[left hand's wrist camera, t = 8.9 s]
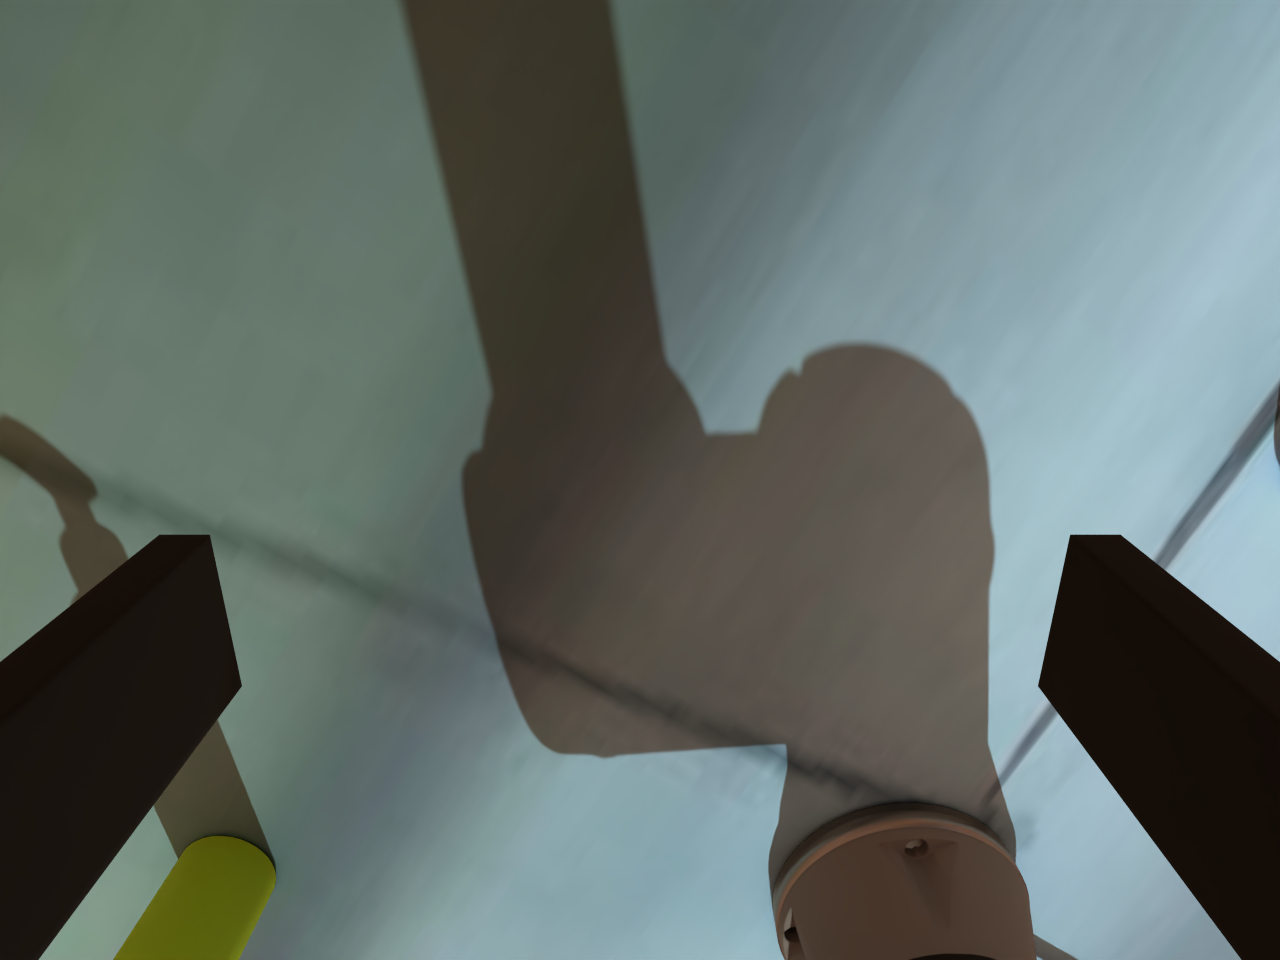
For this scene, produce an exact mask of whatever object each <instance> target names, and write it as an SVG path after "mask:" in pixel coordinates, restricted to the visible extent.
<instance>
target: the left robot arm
mask: <svg viewBox="0 0 1280 960" xmlns="http://www.w3.org/2000/svg"><path fill="white" fill-rule="evenodd" d="M241 687H242V684H241V680H240V675H239V670H238V665H237V661H236V656H235V651H234V647H233V642H232V637H231V633H230V628H229V623H228V618H227V614H226V609H225V604H224V600H223V595H222V590H221V586H220V581H219V576H218V571H217V567H216V562H215V557H214V553H213V548H212V543H211V539H210V535H159V536H157V537H156V538H155V539H154V540H152V541H151V542H150V543H149V544H147V545H146V546H145V547H144V548H142V549H141V550H140V551H139V552H137V553H136V554H135V555H134V556H132V557H131V558H130V559H129V560H127V561H126V562H125V563H124V564H122V565H121V566H120V567H119V568H117V569H116V570H115V571H114V572H112V573H111V574H110V575H109V576H107V577H106V578H105V579H104V580H102V581H101V582H100V583H99V584H97V585H96V586H95V587H94V588H92V589H91V590H90V591H89V592H87V593H86V594H85V595H84V596H82V597H81V598H80V599H79V600H77V601H76V602H75V603H74V604H72V605H71V606H70V607H69V608H67V609H66V610H65V611H64V612H62V613H61V614H60V615H59V616H57V617H56V618H55V619H54V620H52V621H51V622H50V623H49V624H47V625H46V626H45V627H44V628H42V629H41V630H40V631H39V632H37V633H36V634H35V635H34V636H32V637H31V638H30V639H29V640H27V641H26V642H25V643H24V644H22V645H21V646H20V647H18V648H17V649H16V650H15V651H13V652H12V653H11V654H10V655H8V656H7V657H6V658H5V659H3V660H2V661H1V662H0V960H39V958H40V957H41V956H42V954H43V953H44V951H45V950H46V949H47V947H48V946H49V945H50V943H51V942H52V941H53V939H54V938H55V937H56V935H57V934H58V933H59V931H60V930H61V929H62V927H63V926H64V925H65V923H66V922H67V921H68V919H69V918H70V917H71V915H72V914H73V912H74V911H75V910H76V908H77V907H78V906H79V904H80V903H81V902H82V900H83V899H84V898H85V896H86V895H87V894H88V892H89V891H90V890H91V888H92V887H93V886H94V884H95V883H96V882H97V880H98V879H99V878H100V876H101V875H102V873H103V872H104V871H105V869H106V868H107V867H108V865H109V864H110V863H111V861H112V860H113V859H114V857H115V856H116V855H117V853H118V852H119V851H120V849H121V848H122V847H123V845H124V844H125V843H126V841H127V840H128V839H129V837H130V836H131V835H132V833H133V832H134V830H135V829H136V828H137V826H138V825H139V824H140V822H141V821H142V820H143V818H144V817H145V816H146V814H147V813H148V812H149V810H150V809H151V808H152V806H153V805H154V804H155V802H156V801H157V800H158V798H159V797H160V796H161V794H162V793H163V791H164V790H165V789H166V787H167V786H168V785H169V783H170V782H171V781H172V779H173V778H174V777H175V775H176V774H177V773H178V771H179V770H180V769H181V767H182V766H183V765H184V763H185V762H186V761H187V759H188V758H189V757H190V755H191V754H192V752H193V751H194V750H195V748H196V747H197V746H198V744H199V743H200V742H201V740H202V739H203V738H204V736H205V735H206V734H207V732H208V731H209V730H210V728H211V727H212V726H213V724H214V723H215V722H216V720H217V719H218V718H219V716H220V715H221V713H222V712H223V711H224V709H225V708H226V707H227V705H228V704H229V703H230V701H231V700H232V699H233V697H234V696H235V695H236V693H237V692H238V691H239V689H240V688H241ZM1038 687H1039V688H1040V689H1041V691H1042V692H1043V693H1044V695H1045V696H1046V697H1047V699H1048V700H1049V701H1050V703H1051V704H1052V705H1053V707H1054V708H1055V709H1056V711H1057V712H1058V714H1059V715H1060V716H1061V718H1062V719H1063V720H1064V722H1065V723H1066V724H1067V726H1068V727H1069V728H1070V730H1071V731H1072V732H1073V734H1074V735H1075V736H1076V738H1077V739H1078V740H1079V742H1080V743H1081V744H1082V746H1083V747H1084V748H1085V750H1086V751H1087V752H1088V754H1089V755H1090V757H1091V758H1092V759H1093V761H1094V762H1095V763H1096V765H1097V766H1098V767H1099V769H1100V770H1101V771H1102V773H1103V774H1104V775H1105V777H1106V778H1107V779H1108V781H1109V782H1110V783H1111V785H1112V786H1113V787H1114V789H1115V790H1116V791H1117V793H1118V794H1119V796H1120V797H1121V798H1122V800H1123V801H1124V802H1125V804H1126V805H1127V806H1128V808H1129V809H1130V810H1131V812H1132V813H1133V814H1134V816H1135V817H1136V818H1137V820H1138V821H1139V822H1140V824H1141V825H1142V826H1143V828H1144V829H1145V830H1146V832H1147V833H1148V835H1149V836H1150V837H1151V839H1152V840H1153V841H1154V843H1155V844H1156V845H1157V847H1158V848H1159V849H1160V851H1161V852H1162V853H1163V855H1164V856H1165V857H1166V859H1167V860H1168V861H1169V863H1170V864H1171V865H1172V867H1173V868H1174V869H1175V871H1176V872H1177V874H1178V875H1179V876H1180V878H1181V879H1182V880H1183V882H1184V883H1185V884H1186V886H1187V887H1188V888H1189V890H1190V891H1191V892H1192V894H1193V895H1194V896H1195V898H1196V899H1197V900H1198V902H1199V903H1200V904H1201V906H1202V907H1203V908H1204V910H1205V911H1206V913H1207V914H1208V915H1209V917H1210V918H1211V919H1212V921H1213V922H1214V923H1215V925H1216V926H1217V927H1218V929H1219V930H1220V931H1221V933H1222V934H1223V935H1224V937H1225V938H1226V939H1227V941H1228V942H1229V943H1230V945H1231V946H1232V947H1233V949H1234V950H1235V952H1236V953H1237V954H1238V956H1239V957H1240V958H1241V960H1280V662H1279V661H1278V660H1277V659H1275V658H1274V657H1273V656H1271V655H1270V654H1269V653H1268V652H1266V651H1265V650H1264V649H1263V648H1261V647H1260V646H1259V645H1258V644H1256V643H1255V642H1254V641H1253V640H1251V639H1250V638H1249V637H1248V636H1246V635H1245V634H1244V633H1243V632H1241V631H1240V630H1239V629H1238V628H1236V627H1235V626H1234V625H1233V624H1231V623H1230V622H1229V621H1228V620H1226V619H1225V618H1224V617H1223V616H1221V615H1220V614H1219V613H1218V612H1216V611H1215V610H1214V609H1213V608H1211V607H1210V606H1209V605H1208V604H1206V603H1205V602H1204V601H1203V600H1201V599H1200V598H1199V597H1198V596H1196V595H1195V594H1194V593H1193V592H1191V591H1190V590H1189V589H1188V588H1186V587H1185V586H1184V585H1183V584H1181V583H1180V582H1179V581H1178V580H1176V579H1175V578H1174V577H1173V576H1171V575H1170V574H1169V573H1168V572H1166V571H1165V570H1164V569H1163V568H1161V567H1160V566H1159V565H1158V564H1156V563H1155V562H1154V561H1153V560H1151V559H1150V558H1149V557H1148V556H1146V555H1145V554H1144V553H1143V552H1141V551H1140V550H1139V549H1138V548H1136V547H1135V546H1134V545H1133V544H1131V543H1130V542H1129V541H1128V540H1126V539H1125V538H1124V537H1123V536H1121V535H1070V538H1069V543H1068V548H1067V553H1066V557H1065V562H1064V567H1063V571H1062V576H1061V581H1060V585H1059V590H1058V595H1057V600H1056V604H1055V609H1054V614H1053V618H1052V623H1051V628H1050V632H1049V637H1048V642H1047V647H1046V651H1045V656H1044V661H1043V665H1042V670H1041V675H1040V679H1039V684H1038ZM773 914H774V920H775V926H776V932H777V937H778V943H779V946H780V950H781V952H782V955H783V957H784V959H785V960H1037V959H1036V951H1035V943H1034V936H1033V928H1032V920H1031V913H1030V902H1029V895H1028V891H1027V887H1026V884H1025V882H1024V880H1023V877H1022V875H1021V873H1020V871H1019V870H1018V868H1017V866H1016V864H1015V862H1014V860H1013V858H1012V856H1011V854H1010V852H1009V851H1008V849H1007V848H1006V846H1005V844H1004V843H1003V842H1002V841H1001V839H1000V838H999V837H998V836H997V835H996V834H995V833H994V832H993V831H992V830H991V829H989V828H988V827H987V826H985V825H984V824H983V823H981V822H979V821H978V820H976V819H974V818H972V817H970V816H968V815H966V814H964V813H961V812H959V811H956V810H953V809H949V808H946V807H942V806H936V805H931V804H921V803H897V804H887V805H880V806H875V807H870V808H866V809H863V810H859V811H856V812H853V813H850V814H848V815H845V816H843V817H841V818H838V819H836V820H834V821H832V822H830V823H829V824H827V825H825V826H823V827H822V828H820V829H819V830H817V831H816V832H814V833H813V834H812V835H810V836H809V837H808V838H807V839H806V840H804V841H803V842H802V843H801V844H800V845H799V846H798V847H797V848H796V849H795V850H794V852H793V853H792V854H791V855H790V856H789V858H788V859H787V861H786V862H785V864H784V865H783V867H782V869H781V871H780V873H779V875H778V878H777V881H776V884H775V888H774V892H773Z"/></svg>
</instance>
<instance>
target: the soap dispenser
mask: <svg viewBox="0 0 1280 960" xmlns="http://www.w3.org/2000/svg"><path fill="white" fill-rule="evenodd" d="M275 883H276V873H275V869H274V867H273V865H272V863H271V861H270V860H269V858H268V857H267V856H266V855H265V854H264V853H263V852H262V851H261V850H260V849H258V848H257V847H255V846H254V845H252V844H250V843H248V842H246V841H243V840H241V839H237V838H233V837H227V836H211V837H206V838H202V839H200V840H197V841H195V842H193V843H192V844H191V845H189V846H188V847H187V848H186V849H185V850H184V852H183V853H182V855H181V856H180V858H179V859H178V861H177V863H176V864H175V866H174V867H173V869H172V870H171V872H170V873H169V875H168V876H167V878H166V879H165V881H164V883H163V884H162V886H161V887H160V889H159V890H158V892H157V893H156V895H155V896H154V898H153V899H152V901H151V902H150V904H149V906H148V907H147V909H146V910H145V912H144V913H143V915H142V916H141V918H140V919H139V921H138V922H137V924H136V926H135V927H134V929H133V930H132V932H131V933H130V935H129V936H128V938H127V939H126V941H125V942H124V944H123V946H122V947H121V949H120V950H119V952H118V953H117V955H116V956H115V958H114V959H113V960H239V958H240V956H241V954H242V952H243V950H244V948H245V946H246V944H247V942H248V940H249V938H250V936H251V934H252V932H253V930H254V928H255V926H256V923H257V921H258V919H259V917H260V915H261V913H262V911H263V909H264V907H265V905H266V903H267V901H268V899H269V897H270V895H271V893H272V891H273V889H274V887H275Z"/></svg>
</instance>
